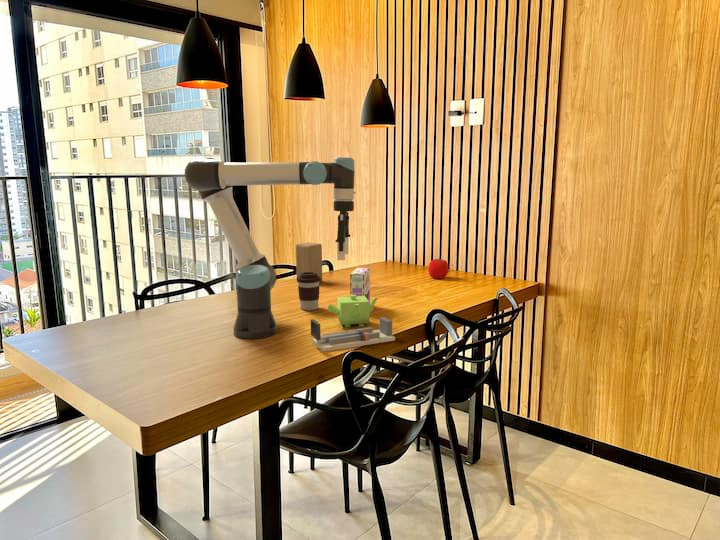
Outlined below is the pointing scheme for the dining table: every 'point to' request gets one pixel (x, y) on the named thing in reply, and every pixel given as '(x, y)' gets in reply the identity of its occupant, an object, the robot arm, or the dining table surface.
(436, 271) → the tomato
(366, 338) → the small salmon eraser
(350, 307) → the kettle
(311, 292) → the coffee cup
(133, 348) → the dining table surface
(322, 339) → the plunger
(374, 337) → the base
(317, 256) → the wooden block
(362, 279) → the candy box
